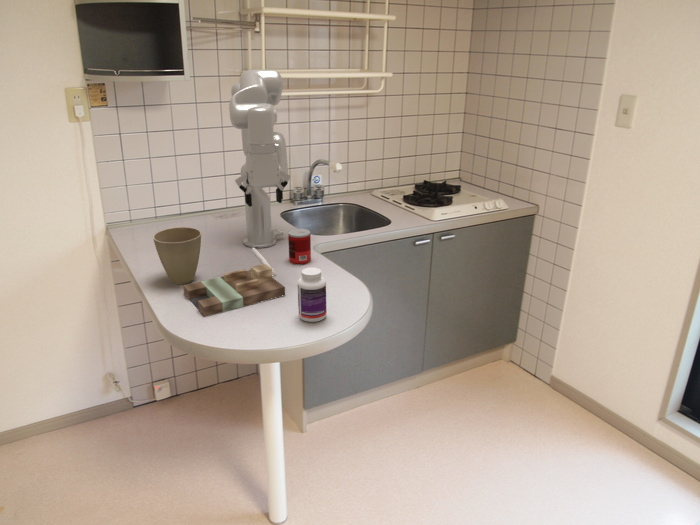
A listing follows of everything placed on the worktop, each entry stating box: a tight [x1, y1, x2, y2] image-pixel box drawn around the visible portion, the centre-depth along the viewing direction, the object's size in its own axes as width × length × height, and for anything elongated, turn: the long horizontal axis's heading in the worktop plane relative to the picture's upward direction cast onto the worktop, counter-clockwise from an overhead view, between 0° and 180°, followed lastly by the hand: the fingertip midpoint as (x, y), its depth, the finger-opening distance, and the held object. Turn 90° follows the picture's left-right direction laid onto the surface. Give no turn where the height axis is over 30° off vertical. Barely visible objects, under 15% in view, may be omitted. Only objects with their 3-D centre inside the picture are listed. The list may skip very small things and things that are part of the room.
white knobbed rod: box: [251, 247, 277, 276], centre depth 203 cm, size 28×4×3 cm, turn 24°
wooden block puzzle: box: [182, 269, 286, 317], centre depth 177 cm, size 26×18×6 cm
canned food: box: [287, 228, 312, 265], centre depth 203 cm, size 8×8×11 cm
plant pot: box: [152, 226, 202, 285], centre depth 185 cm, size 15×15×16 cm
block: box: [250, 263, 273, 284], centre depth 181 cm, size 5×5×4 cm
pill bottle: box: [297, 267, 327, 323], centre depth 162 cm, size 8×8×14 cm
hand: (264, 203), depth 179 cm, fingers open, 9 cm apart
